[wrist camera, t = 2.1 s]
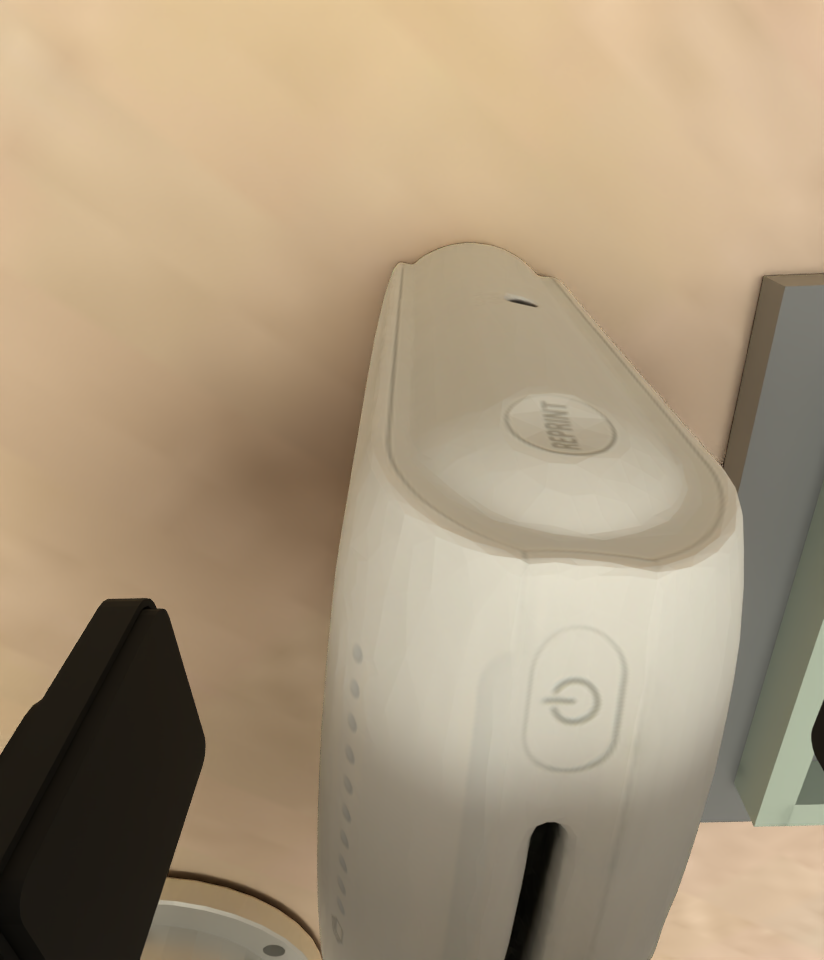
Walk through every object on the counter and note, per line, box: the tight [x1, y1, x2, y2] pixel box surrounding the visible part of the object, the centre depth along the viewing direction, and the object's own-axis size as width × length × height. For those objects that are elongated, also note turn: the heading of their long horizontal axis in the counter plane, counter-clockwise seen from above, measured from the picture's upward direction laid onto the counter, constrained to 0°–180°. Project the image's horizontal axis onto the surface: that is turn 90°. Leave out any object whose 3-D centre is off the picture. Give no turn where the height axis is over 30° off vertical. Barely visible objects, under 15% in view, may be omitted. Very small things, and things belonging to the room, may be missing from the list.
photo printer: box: [317, 243, 744, 960], centre depth 12 cm, size 10×4×12 cm, turn 175°
